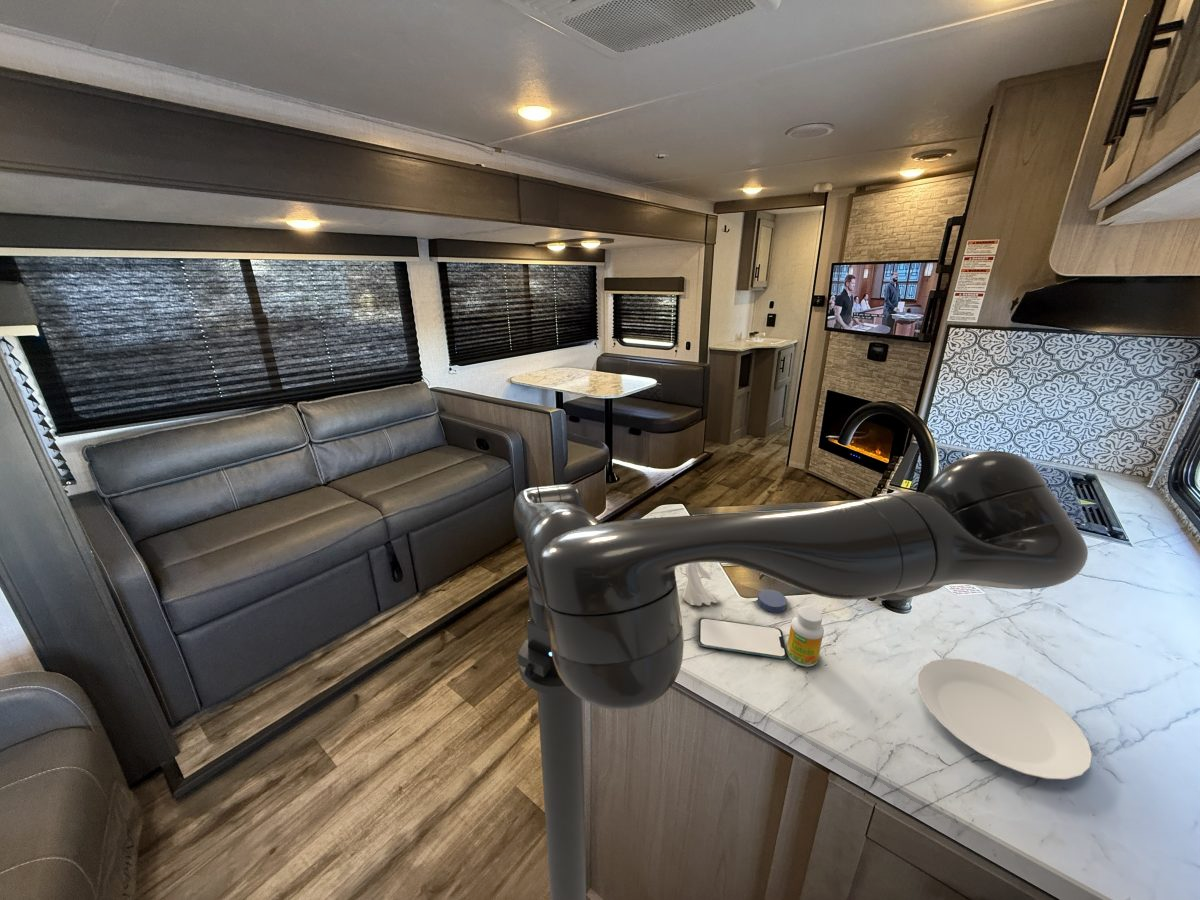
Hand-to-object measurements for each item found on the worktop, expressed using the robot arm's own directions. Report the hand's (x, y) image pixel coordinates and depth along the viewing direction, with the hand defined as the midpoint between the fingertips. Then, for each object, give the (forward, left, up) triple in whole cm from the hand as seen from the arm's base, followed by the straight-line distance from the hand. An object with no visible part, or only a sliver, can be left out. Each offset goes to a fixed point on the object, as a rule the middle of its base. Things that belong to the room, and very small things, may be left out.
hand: (848, 583), depth 65 cm
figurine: (+16, +26, -25) cm, 40 cm away
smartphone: (+9, +15, -25) cm, 30 cm away
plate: (+12, -24, -25) cm, 36 cm away
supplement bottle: (+11, +4, -25) cm, 27 cm away
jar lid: (+23, +12, -24) cm, 35 cm away
